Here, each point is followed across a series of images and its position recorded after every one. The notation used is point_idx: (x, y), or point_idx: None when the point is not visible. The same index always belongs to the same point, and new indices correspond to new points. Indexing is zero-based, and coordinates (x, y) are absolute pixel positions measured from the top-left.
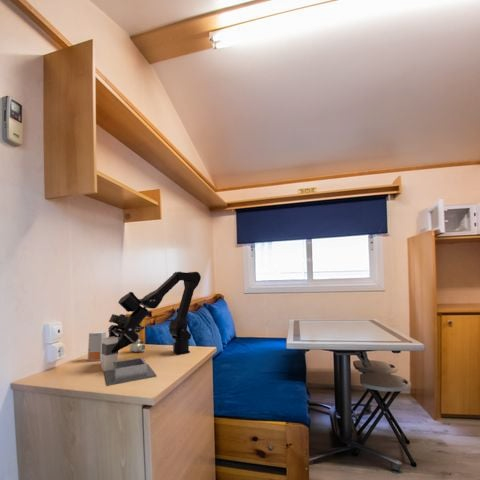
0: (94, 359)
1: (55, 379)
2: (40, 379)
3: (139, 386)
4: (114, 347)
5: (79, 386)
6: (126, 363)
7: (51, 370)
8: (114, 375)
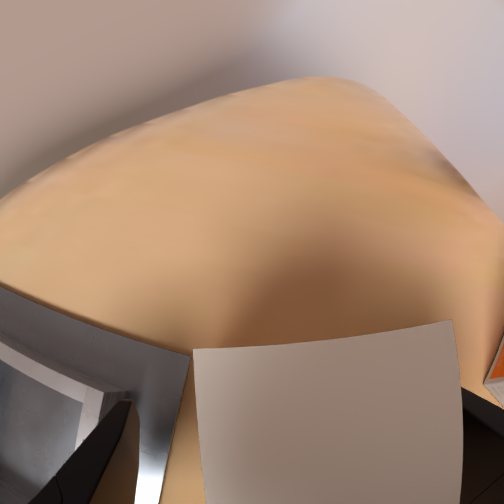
0: (500, 352)
1: (279, 139)
2: (324, 111)
3: None
4: (91, 435)
5: (71, 189)
6: None
7: (436, 169)
8: (21, 345)
